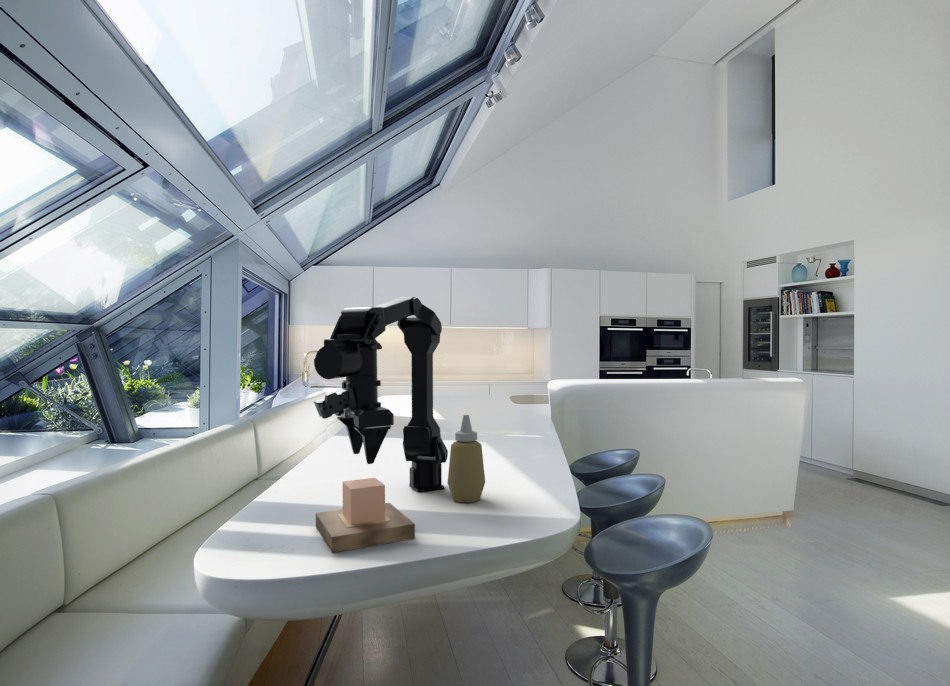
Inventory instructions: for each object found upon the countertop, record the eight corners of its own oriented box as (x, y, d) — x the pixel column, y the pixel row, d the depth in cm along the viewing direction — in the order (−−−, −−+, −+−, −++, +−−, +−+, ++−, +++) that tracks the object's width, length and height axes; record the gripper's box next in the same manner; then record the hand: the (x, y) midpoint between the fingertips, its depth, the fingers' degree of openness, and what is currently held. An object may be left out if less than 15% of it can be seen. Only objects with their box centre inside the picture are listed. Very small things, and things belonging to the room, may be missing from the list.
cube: (375, 510, 101) (375, 477, 101) (385, 519, 95) (384, 485, 95) (342, 514, 98) (342, 481, 98) (350, 524, 93) (350, 489, 93)
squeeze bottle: (490, 496, 119) (489, 413, 119) (478, 506, 111) (477, 418, 111) (455, 493, 122) (455, 412, 122) (441, 503, 114) (441, 416, 114)
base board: (389, 515, 106) (389, 501, 106) (414, 538, 93) (414, 522, 93) (315, 526, 100) (315, 512, 100) (332, 552, 87) (332, 536, 87)
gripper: (307, 373, 106) (308, 454, 106) (328, 380, 89) (330, 475, 90) (363, 371, 111) (365, 447, 111) (394, 377, 94) (395, 467, 95)
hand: (363, 458), depth 102 cm, fingers open, 9 cm apart
